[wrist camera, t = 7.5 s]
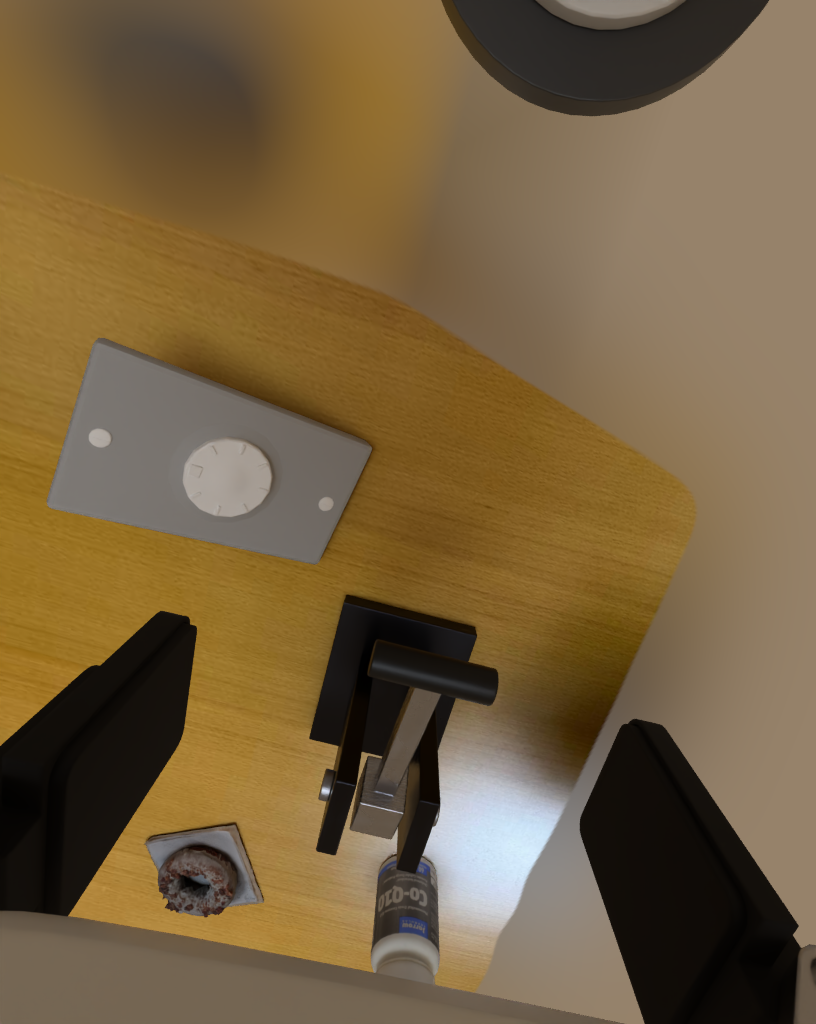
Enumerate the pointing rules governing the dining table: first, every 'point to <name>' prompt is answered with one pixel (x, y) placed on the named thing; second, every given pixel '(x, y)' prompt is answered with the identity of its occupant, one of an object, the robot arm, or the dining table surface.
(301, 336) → the dining table surface
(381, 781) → the switch lever
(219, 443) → the light switch
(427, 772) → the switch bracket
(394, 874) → the pill bottle
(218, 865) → the donut
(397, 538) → the dining table surface
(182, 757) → the dining table surface
